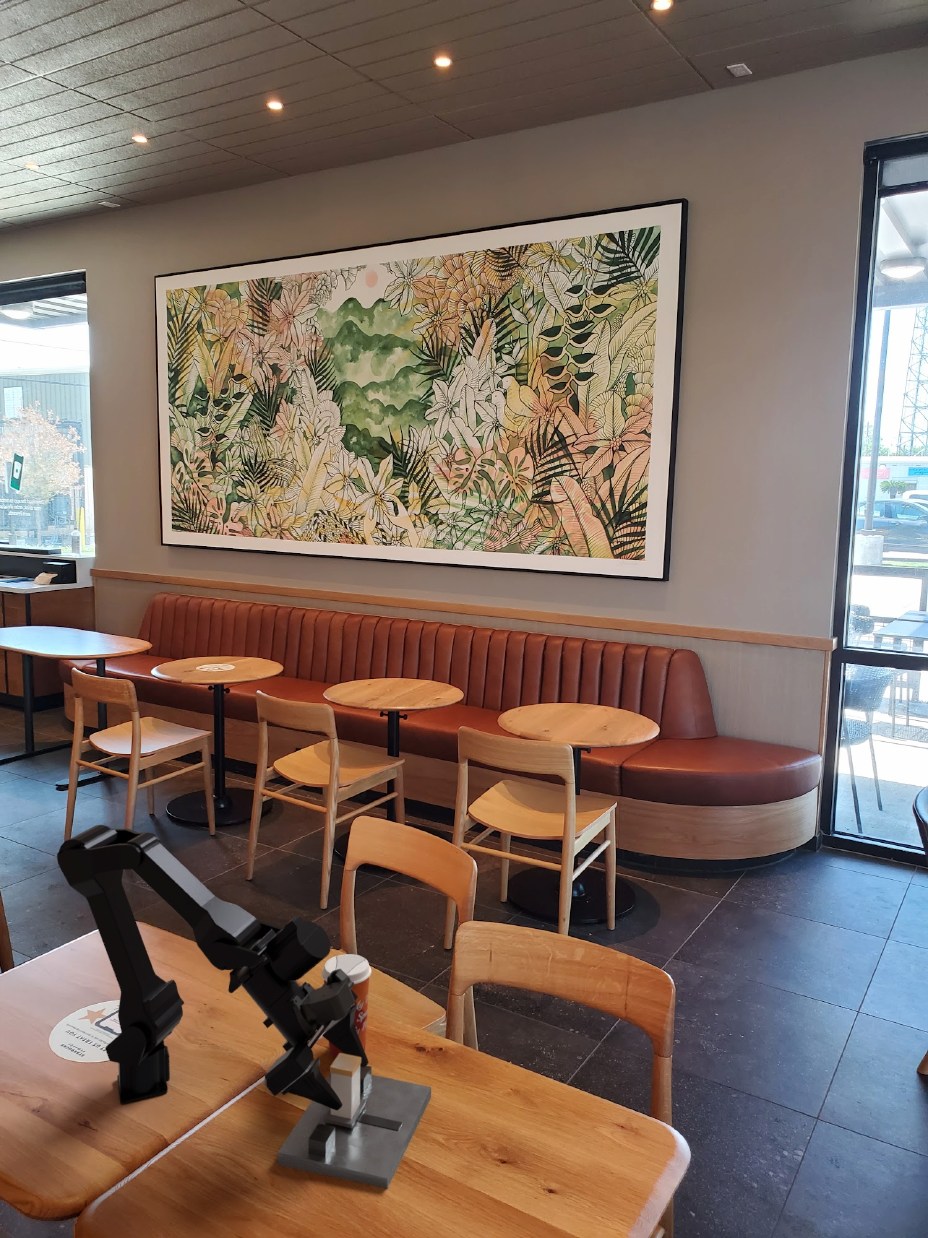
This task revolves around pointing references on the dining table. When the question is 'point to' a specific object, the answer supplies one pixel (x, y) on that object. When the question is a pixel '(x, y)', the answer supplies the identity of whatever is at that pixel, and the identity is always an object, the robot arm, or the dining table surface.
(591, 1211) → the dining table surface
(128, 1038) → the robot arm
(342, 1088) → the handle
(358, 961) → the paper cup
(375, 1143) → the plate
